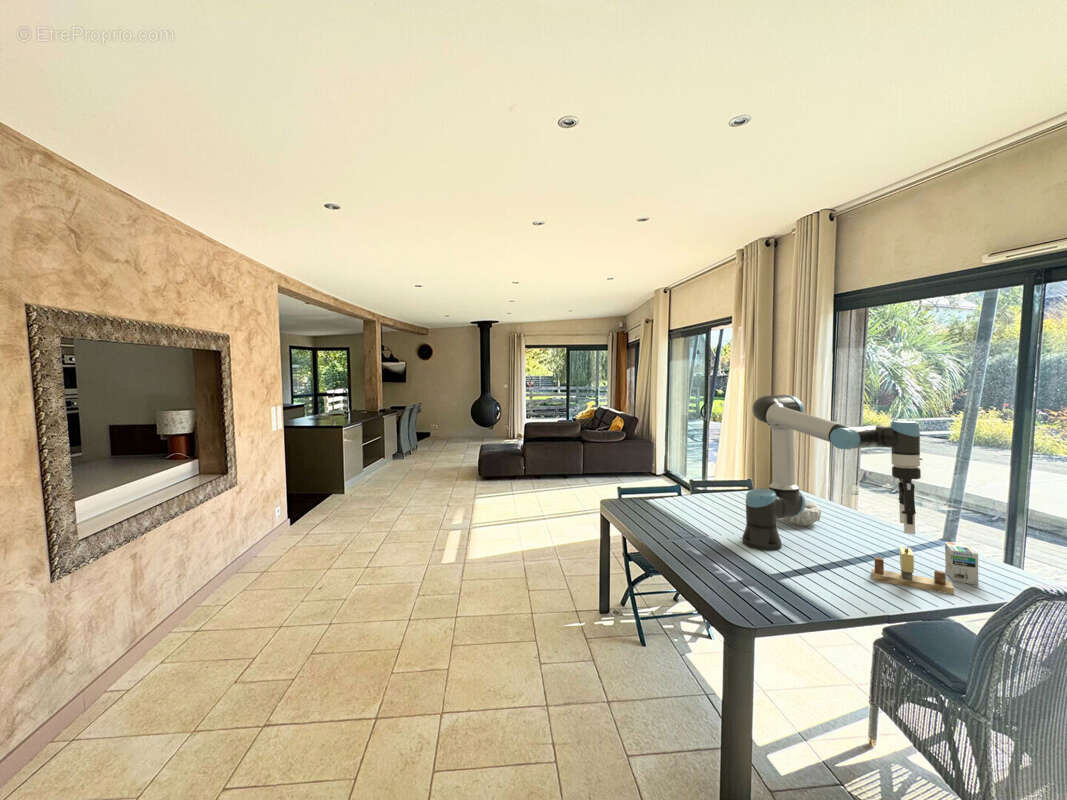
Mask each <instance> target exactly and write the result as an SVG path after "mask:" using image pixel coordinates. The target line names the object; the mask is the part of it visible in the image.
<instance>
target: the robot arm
mask: <svg viewBox="0 0 1067 800" xmlns="http://www.w3.org/2000/svg"><path fill="white" fill-rule="evenodd" d="M751 410H752V414H753V416H754V417H755V419H756V420H758V421H760V422H761V423H764V424H767V426H768V427H769V428H770V429H771V446H772V447H771V451H772V452H771V453H772V455H771V458H772V459H771V460H772V482H771V484H769V486H768V488H755V489H750V490H749V491H748V492H746V496H745V513H746V514H745V515H746V516H745V520H746V524H745V528H744V530H743V535H742V537H741V538H742V539H741V541H742V545H744V546H746V547H747V548H751V549H754V550H759V551H768V552H769V551H778V550H781V548H782V540H781V537H780V535H779V531H778V529H777V520H779V519H782V518H785V517H793V516H796V515H799V514H800V513H802V512H803V510H804V508H805V502H806V498H805V496H804V495H803V493H802V492H801V491H800V487H799V486H798V485H797V484H796V472H795V471H796V468H795V467H796V465H795V464H796V462H795V432H799V433H801V434H804V435H808V436H811V437H814V438H816V439H820V440H822V441H826V442H828V443H831V445H832V446H833V447H834V448H836V449H839V450H852V449H859V448H860V449H862V448H870V447H872V448H873V447H875V448H876V447H877V448H878V447H879V448H889V449H891V464H892V467H891V475H892V477H893V478H896V479H898V480H899V481H898V483H897V485H898V503H899V505H898V506H899V523H900V524H903V534H907V535H909V534H910V535H916V513H917V512H916V503H915V502H916V501H915V486H916V485H915V484H914V483H913V482H912V481H913V480H920V479H921V478H922V475H921V474H922V473H921V468H920V467H921V461H924V459H923V457H922V456H921V431H920V423H918V422H917V421H910V420H894V421H891V423H890V426H885V425H884V426H883V425H871V424H860V425H859V424H858V425H857V426H849V425H845V424H842V423H841V424H840V423H839V422H835V421H833V420H828V419H827V418H826V419H825V418H822V417H819V416H817V415H816V416H815V415H813V414H809V413H804V411H805V409H804V405H803V402H801V400H800V399H799V398H798V397H796V396H795V395H791V394H790V395H789V394H777V395H774V394H773V395H763V396H760V397H758V398H757V399H756V400H755V401H754V403H753V405H752V408H751Z"/></svg>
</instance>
